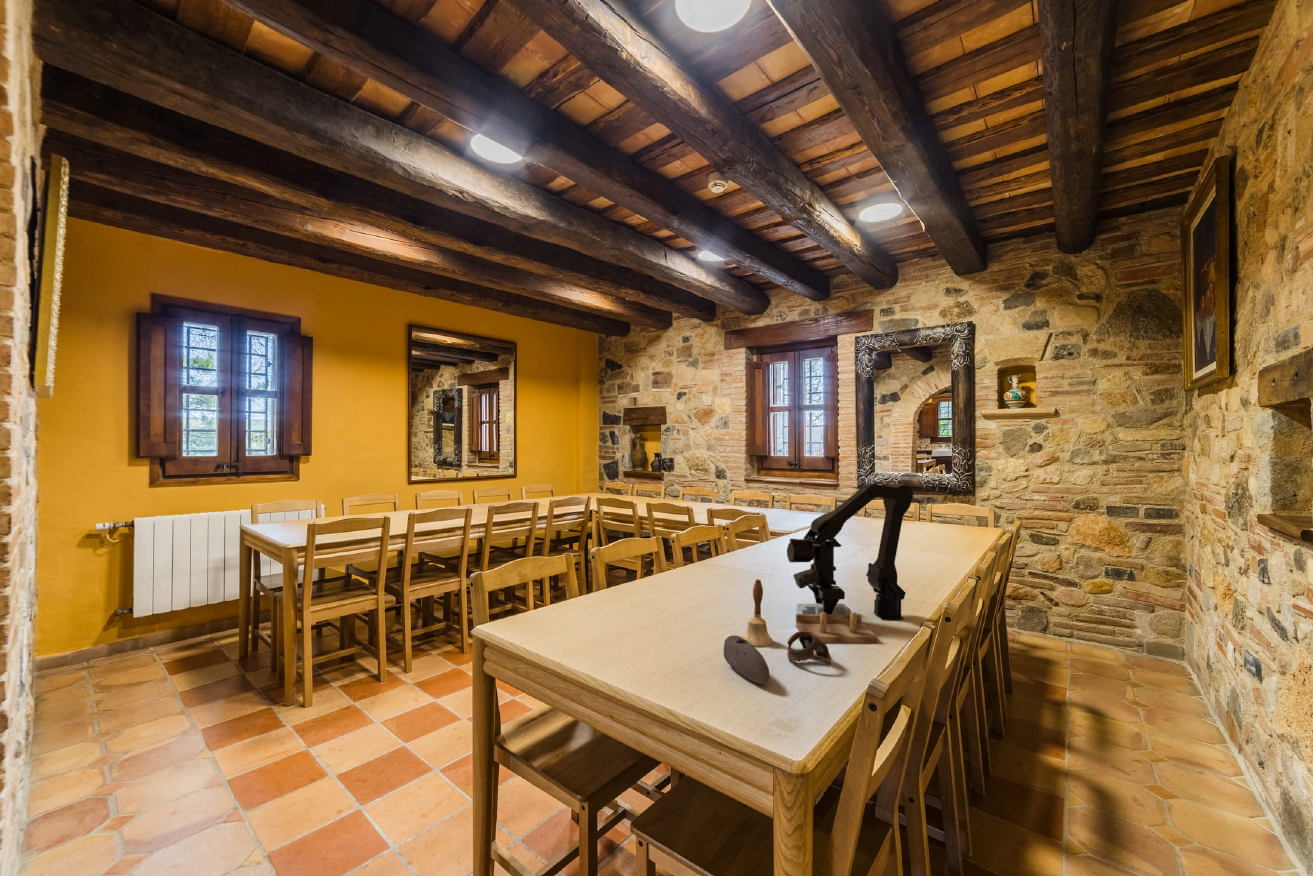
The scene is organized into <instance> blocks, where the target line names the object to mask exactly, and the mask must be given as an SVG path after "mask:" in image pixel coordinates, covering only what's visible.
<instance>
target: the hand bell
mask: <svg viewBox="0 0 1313 876" xmlns="http://www.w3.org/2000/svg"><path fill="white" fill-rule="evenodd" d="M763 595H764V589H763V585H762V581H761V579H755V582H754V585H753V589H752V598H753V601H754V611H753V617H752V618H749V619H748V624H747V627H746V631H745V632H744V634H743V635H742V636H740V637H741V638H743V639H745V640H746V641H748V642H749V643H751V644H752V645H753V646H755V648H766V646H767V647H770V646H772V645H773V644H774V640H773V638H772V637H771V636H770V635H769V633H768V632H769V631H768V627H767V622H766V621H767V620H765V619H764V618H762V607H761V605H762V600H763ZM771 644H772V645H771ZM764 646H765V647H764Z"/></svg>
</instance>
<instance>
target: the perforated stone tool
mask: <svg viewBox="0 0 1313 876" xmlns="http://www.w3.org/2000/svg"><path fill="white" fill-rule="evenodd" d="M741 637H742V636H740V635H729V636H728V637H726V638H725V640H724V642H723V643H724V644H723V657H724V659H725V661H726V663H727V664H728V665H729V666H730V667H731V668H732V669H733V671H735V672H736V673H738V674H739V675H740V676H742V677H743V678H745V679H747V680H748V681H750V682H751V683H752V682H753V683H754V684H757V685H760V686H764V685H766V684H767V683H768V682H769V681H770V676H771V675H770V674H771V673H770V668H769V666H768V664H767V661H766V660H765V658H764V656H763V655H762V654H761V652H760V651H759V650H758V649H757V647H754V646H753V645H752V644H751V643H749V642H748V641H746V640H745V639H743V638H741Z"/></svg>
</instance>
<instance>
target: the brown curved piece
mask: <svg viewBox="0 0 1313 876" xmlns="http://www.w3.org/2000/svg"><path fill="white" fill-rule="evenodd" d="M812 638H813V639H812ZM797 640H798V641H799V643H800V644H801V647H802V648H800V649H795V648H793V647H792V645H793V643H794V642H796V641H797ZM786 643H787V645H788V646H787V653H786V654H787V659H788V661H789V662H790V663H791V662H792V661H793V662H794V661H795V662H801V661H803V662H804V661H808V660H813V661H816V657H817V658H824V659H827V660H828V665H829V666H832V657H831V654H830V652H829V648H828V646H827V644H826V643H825V642H824V641H823V640H822V639H821V638H820V637H819V636H817V635H815V634H814V633H813V632H812V631H809V630H807V629H804V630H802V631H799V630H798V631H797V632H795V633H793V634H792V635H791V636H790V637H789V638H788V639H787V642H786ZM815 656H816V657H815Z"/></svg>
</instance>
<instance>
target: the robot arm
mask: <svg viewBox="0 0 1313 876" xmlns="http://www.w3.org/2000/svg"><path fill="white" fill-rule="evenodd" d="M876 498H878V499H879V498H880V499H882V501H883V502H882V503H883V506H884V507H883V508H884V510H885V515H884V522H883V526H882V532H881V537H880V543H879V549H878V555H877V558H876V560H875V561H874V562H873V563H871V562H869V563H868V565H867V568H868V569H867V572H866V575H865V576H866V577H867V582H868V584H869V586H870V587H872V589H873V592H874V593H875V599H874V601H873V602H874V604H873V605H874V606H873V607H874V608H873V609H874V610H873V614H874V615H875V616H877V617H878V618H880V619H881V620H883V621H884V620H887V621H888V620H889V621H890V620H891V619H893V621H894V619H895V620H897V619H904V620H905V618H904V617H903V615H902V601H903V600H904V599H905V597H906V591H905V590H903V588H902V587H901V586H900V585H899V584H898V572H897V571H898V570H897V568H896V557H897V552H898V546H899V541H900V537H901V536H900V534H901V530H902V523H903V519H904V516H905V514H906V513H907V512H908V510H909V509H910V508H911V504H912V502H913V499H914V491H913V490H912V488H911V487H910V486H908V485H906V484H897V483H889V484H888V485H878V484H877V483H876V484H875V483H870V482H869V483H868V482H867V483H865V484H863V486H862V487H860V489H859V490H857V491H856V492H854V493H853V494H852V495H851V496H850V497H849V498H847V499H846V500H845V501H844V502H842V503H841V504H840V505H839V506H837V507H836V508H835V509H834V510H832V511H829V512H827V513H824V514H822V515H820V516H819V517H817V518H814V519H813V521H811V525H810V528H809V529H808V531H807V532H806V534H805V536H804V537H803V538H799V539H798V538H789V543H788V544H787V548H786V556H787V560H788V561H789V563H810V562H812V561H813V563H811V564H810V568H809V569H804V570H802V571H799V572H796V573H794V574H793V578H794V582H795V584H796V586H797V587H798V588H799V589H803V588H804V589H805V588H806V587H807V588H809V590H810V591H812V593H813V595H814V596H813V598H814V599H815V604H823V609H824V612H825V613H826V614H832V612H833V610H834V608H835V606H836V605H837V604H839V601H841V600H845V597H846V594H845V593H846V591H844V590H843V589H842V588H841V587H840V586H838V585H837V581H836V580H835V571H836V572H837V567H836V566H835V548H840V547H842V544H841V543H839V542H838V540H837V539H836V538H835V537H837V535H838V534H839V533H840V532H841V531H842V528H843V527H844V525H845V523H846V522H847V521H848V520H849V519H851V518H852V517H853V516H854V515H856V514H857V513H858V512H860V511H861V510H862V509H863V508H865V506H867V505H868V504H869V503H870V502H872V501H873V500H874V499H876Z"/></svg>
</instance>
